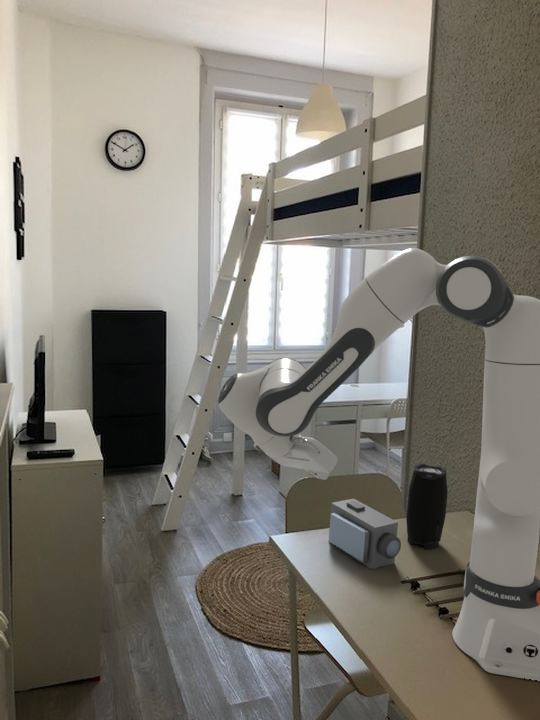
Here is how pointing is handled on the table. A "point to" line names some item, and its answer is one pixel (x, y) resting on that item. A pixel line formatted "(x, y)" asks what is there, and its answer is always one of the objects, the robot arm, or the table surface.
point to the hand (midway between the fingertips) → (324, 476)
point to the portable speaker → (426, 505)
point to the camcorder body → (372, 531)
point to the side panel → (349, 537)
